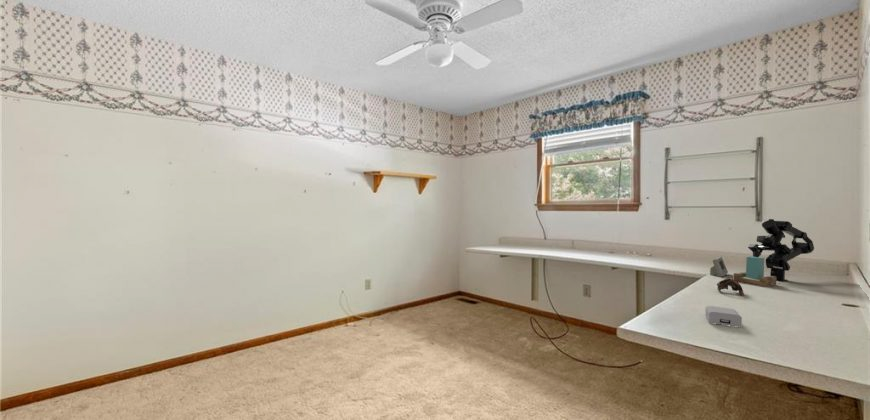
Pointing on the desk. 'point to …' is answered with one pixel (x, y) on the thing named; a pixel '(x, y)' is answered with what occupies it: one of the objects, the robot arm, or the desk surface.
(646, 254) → the desk surface
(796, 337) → the desk surface
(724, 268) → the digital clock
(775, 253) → the robot arm
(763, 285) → the display stand
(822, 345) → the desk surface
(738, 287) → the brown curved arch
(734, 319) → the charger
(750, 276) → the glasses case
